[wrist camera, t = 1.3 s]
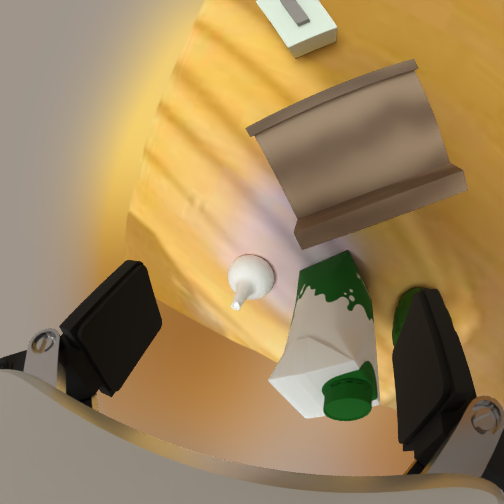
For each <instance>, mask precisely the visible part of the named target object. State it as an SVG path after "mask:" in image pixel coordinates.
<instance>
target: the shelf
mask: <svg viewBox="0 0 504 504" xmlns="http://www.w3.org/2000/svg"><path fill="white" fill-rule="evenodd" d="M416 69H418V66H417V64H416V62H415V60H414V59H411V60H408V61H404V62H401V63H398V64H395V65H391V66H388V67H385V68H382V69H379V70H376V71H373V72H371V73H368V74H365V75H362V76H360V77H357V78H354V79H352V80H349V81H346V82H344V83H341V84H339V85H336V86H334V87H331V88H329V89H326V90H324V91H322V92H319V93H317V94H315V95H312V96H310V97H308V98H306V99H303V100H301V101H299V102H297V103H295V104H293V105H290V106H288V107H286V108H284V109H282V110H280V111H278V112H276V113H274V114H272V115H270V116H268V117H266V118H264V119H262V120H260V121H258V122H256V123H254V124H252V125H250V126H249V127H247V128H246V130H247V132H248V134H249V136H250V137H252V136H255V138H256V140H257V141H258V143H259V145H260V147H261V149H262V151H263V153H264V154H265V156H266V158H267V160H268V162H269V164H270V166H271V168H272V169H273V171H274V173H275V175H276V177H277V179H278V181H279V183H280V185H281V187H282V189H283V191H284V193H285V195H286V197H287V199H288V201H289V203H290V205H291V207H292V209H293V211H294V213H295V215H296V217H297V219H298V220H297V224H296V227H295V230H294V235H295V237H296V239H297V241H298V243H299V245H300V247H301V249H302V250H304V249H307V248H309V247H312V246H315V245H318V244H321V243H324V242H327V241H329V240H332V239H335V238H338V237H341V236H344V235H346V234H349V233H352V232H355V231H358V230H361V229H363V228H366V227H369V226H372V225H374V224H377V223H380V222H383V221H386V220H388V219H391V218H394V217H397V216H399V215H402V214H405V213H408V212H410V211H413V210H416V209H418V208H421V207H424V206H427V205H429V204H432V203H435V202H437V201H440V200H443V199H445V198H448V197H451V196H453V195H456V194H459V193H461V192H464V191H467V190H468V189H467V184H466V180H465V175H464V171H463V170H462V169H460V168H458V167H457V166H455V165H453V164H451V163H450V162H449V158H448V155H447V152H446V148H445V145H444V142H443V139H442V136H441V133H440V130H439V127H438V125H437V122H436V119H435V117H434V114H433V111H432V109H431V106H430V104H429V102H428V99H427V97H426V95H425V92H424V90H423V88H422V85H421V83H420V81H419V79H418V77H417V75H416V73H415V71H414V70H416Z"/></svg>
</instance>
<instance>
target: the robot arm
mask: <svg viewBox="0 0 504 504" xmlns="http://www.w3.org/2000/svg"><path fill="white" fill-rule="evenodd" d="M161 326H162V319H161V316H160V312H159V309H158V306H157V303H156V299H155V296H154V292H153V289H152V286H151V282H150V278H149V275H148V271H147V268H146V267H145V266H144V265H143V263H142V262H140V261H133V260H127V261H125V262H124V263H123V264H122V265H121V266H120V267H119V268H118V269H116V270H115V272H113V273H112V274H111V275H110V276H109V277H108V278H107V279H106V280H105V281H104V282H103V283H102V284H101V285H100V286H99V287H98V288H96V289H95V291H93V292H92V293H91V294H90V296H88V297H87V298H86V299H85V300H84V301H83V302H82V303H81V304H80V305H79V306H78V307H77V308H76V309H75V310H74V312H72V313H71V314H70V315H69V316H68V318H67V319H66V320H65V321H64V322H63V323H62V324H61V325H60V326H59V327H60V328H61V330H62V332H63V334H62V335H61V336H60V334H59V333H58V331H57V330H55V329H52V328H48V329H44V330H41V331H39V332H38V333H36V334H35V335H34V336H33V337H32V339H31V340H30V342H29V345H28V349H27V350H25V351H22V352H19V353H16V354H12V355H9V356H6V357H3V358H0V504H504V410H503V408H502V406H501V405H500V403H499V402H498V401H497V400H495V399H494V398H492V397H490V396H479V397H477V396H476V392H475V388H474V385H473V381H472V377H471V374H470V371H469V367H468V364H467V361H466V358H465V355H464V352H463V349H462V346H461V343H460V340H459V337H458V335H457V333H456V331H455V329H454V327H453V324H452V321H451V319H450V316H449V314H448V311H447V309H446V307H445V304H444V302H443V300H442V297H441V295H440V293H439V291H438V289H429V288H421V289H420V291H419V292H416V293H415V294H414V296H413V299H412V302H411V305H410V308H409V311H408V313H407V316H406V319H405V322H404V324H403V327H402V330H401V332H400V335H399V337H398V340H397V342H396V345H395V347H394V350H393V354H392V361H393V369H394V379H395V389H396V402H397V418H398V440H399V443H401V444H402V443H403V451H414V458H415V460H414V462H413V463H412V464H411V465H410V467H409V468H408V469H407V470H406V471H405V473H404V474H403V475H395V476H332V475H331V476H330V475H316V474H305V473H295V472H287V471H280V470H274V469H268V468H262V467H257V466H252V465H247V464H242V463H237V462H233V461H228V460H225V459H221V458H217V457H213V456H209V455H206V454H202V453H199V452H196V451H192V450H189V449H186V448H183V447H180V446H177V445H174V444H171V443H169V442H166V441H163V440H160V439H158V438H155V437H153V436H150V435H148V434H145V433H143V432H140V431H138V430H136V429H133V428H131V427H129V426H127V425H124V424H122V423H120V422H118V421H116V420H114V419H112V418H109V417H107V416H105V415H103V414H101V413H99V410H98V403H97V393H96V392H97V391H98V389H99V390H100V391H101V392H102V393H104V394H106V395H108V396H110V397H112V396H113V394H114V393H115V392H116V391H118V390H120V388H121V387H122V385H123V384H124V382H125V381H126V379H127V377H128V376H129V375H130V373H131V372H132V370H133V369H134V367H135V366H136V364H137V363H138V361H139V360H140V358H141V356H142V355H143V354H144V352H145V351H146V349H147V348H148V346H149V345H150V343H151V342H152V340H153V339H154V338H155V336H156V334H157V333H158V332H159V330H160V329H161Z"/></svg>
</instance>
